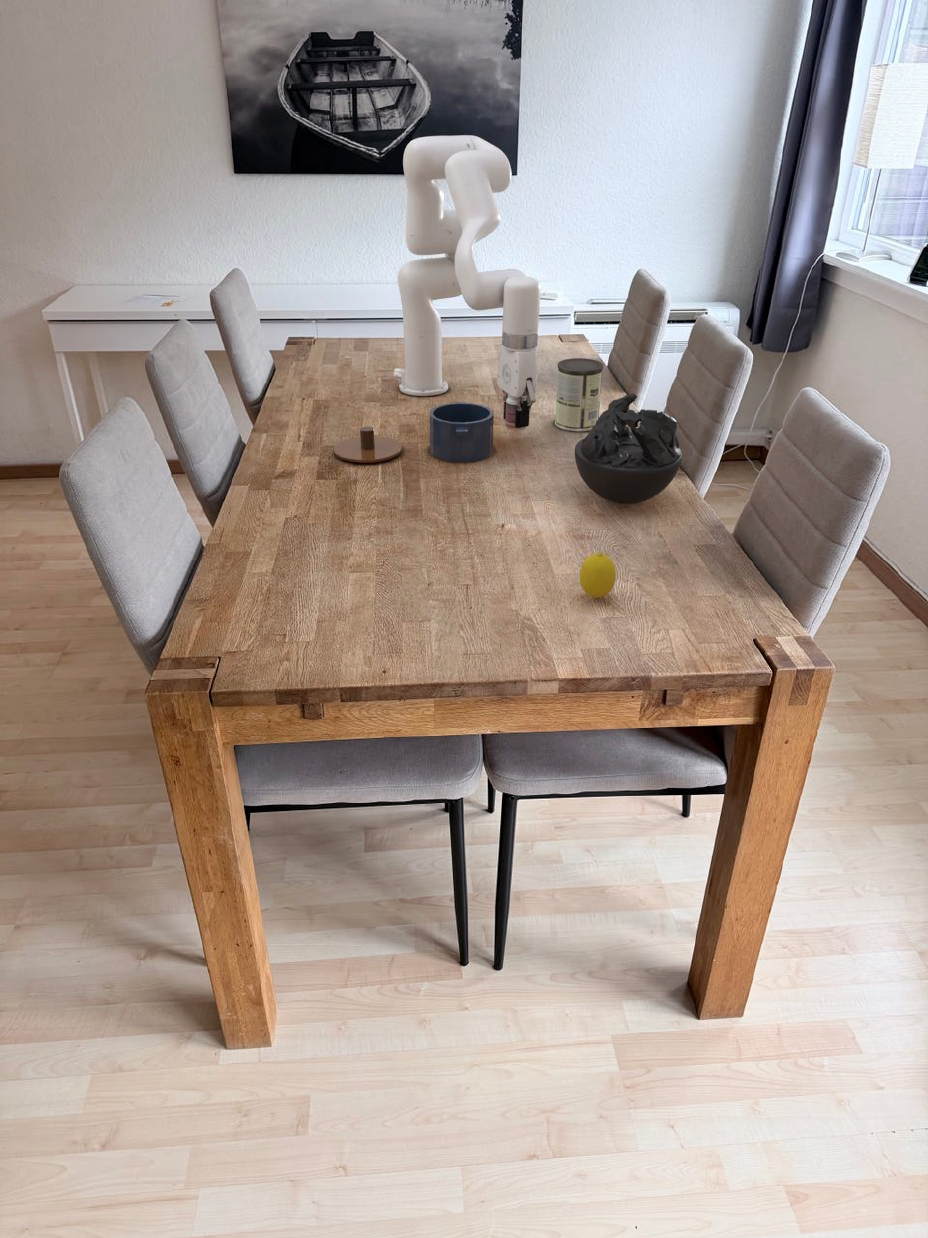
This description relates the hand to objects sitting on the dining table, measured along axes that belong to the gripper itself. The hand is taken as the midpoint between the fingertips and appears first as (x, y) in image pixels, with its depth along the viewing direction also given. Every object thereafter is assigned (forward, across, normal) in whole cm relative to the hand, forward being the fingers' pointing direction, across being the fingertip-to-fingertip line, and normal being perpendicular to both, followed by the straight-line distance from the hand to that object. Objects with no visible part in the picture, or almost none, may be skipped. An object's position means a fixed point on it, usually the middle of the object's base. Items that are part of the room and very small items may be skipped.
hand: (516, 421), depth 200 cm
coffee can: (+5, -4, +18) cm, 19 cm away
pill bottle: (+1, 0, 0) cm, 1 cm away
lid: (+4, -6, -32) cm, 33 cm away
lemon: (+3, +68, -20) cm, 71 cm away
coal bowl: (+4, +37, +4) cm, 38 cm away
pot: (+4, +1, -14) cm, 14 cm away
